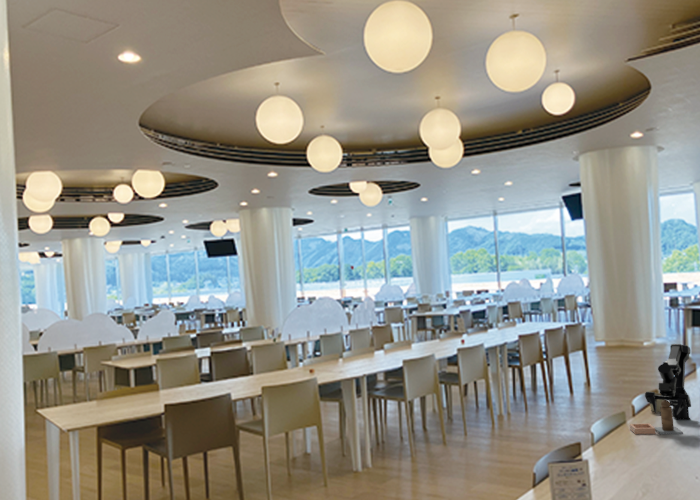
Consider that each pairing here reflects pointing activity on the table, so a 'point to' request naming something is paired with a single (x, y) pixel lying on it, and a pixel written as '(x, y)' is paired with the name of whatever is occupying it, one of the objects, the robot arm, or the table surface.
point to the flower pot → (657, 404)
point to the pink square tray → (642, 428)
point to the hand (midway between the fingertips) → (665, 413)
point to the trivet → (675, 431)
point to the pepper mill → (666, 416)
